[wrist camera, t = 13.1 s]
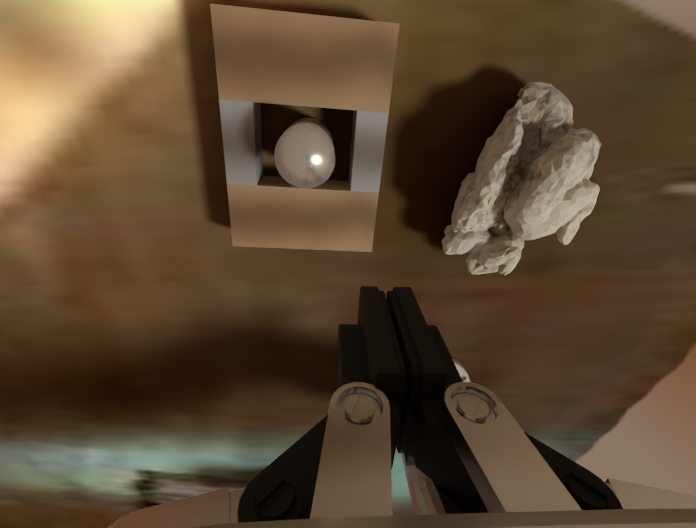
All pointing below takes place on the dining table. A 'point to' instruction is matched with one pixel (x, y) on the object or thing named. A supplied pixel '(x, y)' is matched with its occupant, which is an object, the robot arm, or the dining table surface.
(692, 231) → the dining table surface
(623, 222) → the dining table surface
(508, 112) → the mineral
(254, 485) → the robot arm
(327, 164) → the white glossy cylinder
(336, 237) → the frame
